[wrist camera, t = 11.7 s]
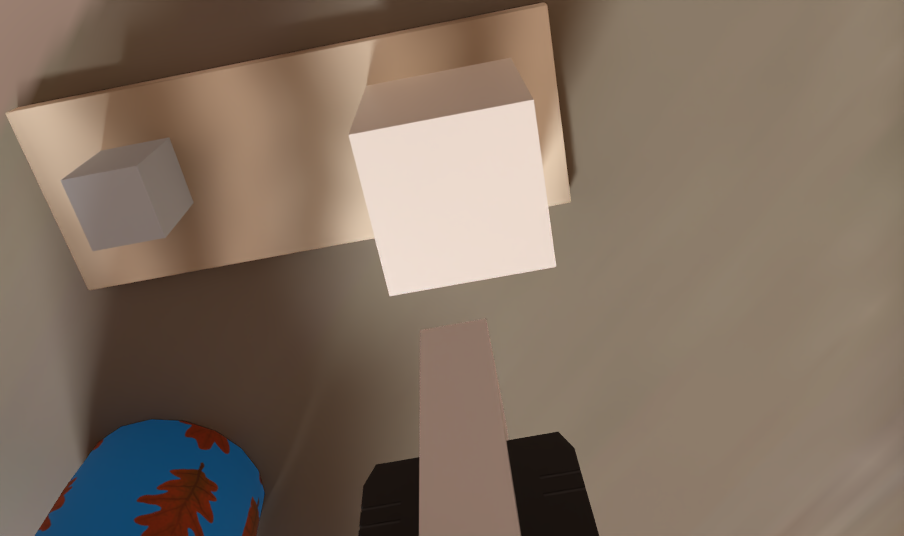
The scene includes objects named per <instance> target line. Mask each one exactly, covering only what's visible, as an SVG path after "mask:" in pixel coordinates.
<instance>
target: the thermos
mask: <svg viewBox="0 0 904 536" xmlns="http://www.w3.org/2000/svg"><path fill="white" fill-rule="evenodd" d="M264 495H265V493H264V489H263V485H262V482H261V478H260V474H259V471H258V469H257V468H256V467H255V465H254V464H253V463H252V461H251V460H250V459H249V458H248V456H247V455H246V454H245V452H244V451H243V450H242V449H241V448H240V447H238V446H237V445H236V444H234V443H233V442H231V441H230V440H228V439H227V438H225V437H224V436H222V435H221V434H219V433H218V432H216V431H214V430H210V429H207V428H204V427H201V426H198V425H195V424H192V423H189V422H186V421H175V420H155V419H150V420H146V421H142V422H138V423H134V424H130V425H126V426H122V427H120V428H119V429H117V430H116V431H114V432H113V433H111V434H110V435H108V436H107V437H105V438H104V439H102V440H101V441H99V442H98V443H97V445H96V446H95V448H94V449H93V450H92V452H91V453H90V454H89V456H88V457H87V458H86V460H85V461H84V463H83V464H82V465H81V467H80V468H79V469H78V471H77V472H76V474H75V475H74V476H73V478H72V479H71V480H70V482H69V483H68V485H67V486H66V487H65V489H64V490H63V492H62V493H61V495H60V497H59V498H58V500H57V501H56V503H55V505H54V506H53V508H52V509H51V511H50V512H49V514H48V516H47V517H46V519H45V520H44V522H43V524H42V525H41V527H40V528H39V530H38V531H37V533H36V535H35V536H256V534H257V530H258V525H259V520H260V515H261V510H262V505H263V500H264Z"/></svg>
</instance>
